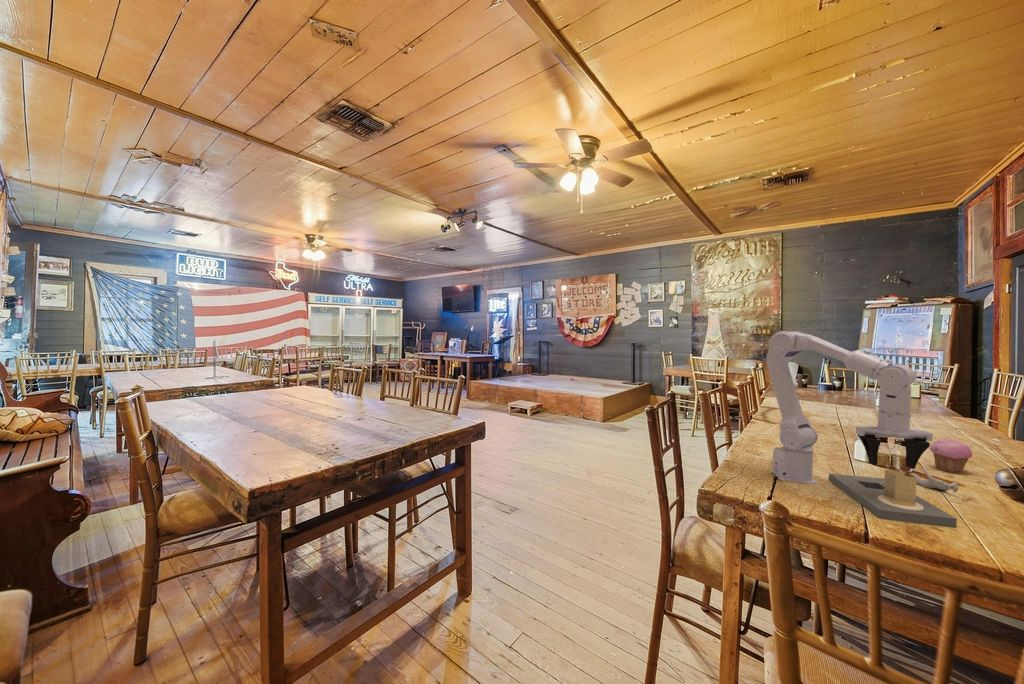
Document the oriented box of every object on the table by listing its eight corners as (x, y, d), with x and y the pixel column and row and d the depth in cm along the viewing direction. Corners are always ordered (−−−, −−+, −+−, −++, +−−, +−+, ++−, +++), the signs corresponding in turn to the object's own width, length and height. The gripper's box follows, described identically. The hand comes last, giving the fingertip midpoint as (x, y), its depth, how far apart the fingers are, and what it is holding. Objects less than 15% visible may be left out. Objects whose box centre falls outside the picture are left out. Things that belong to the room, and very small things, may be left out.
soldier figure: (913, 483, 117) (968, 485, 106) (910, 496, 115) (966, 500, 104) (895, 465, 116) (949, 465, 105) (892, 478, 114) (946, 480, 103)
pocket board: (879, 520, 91) (879, 508, 91) (828, 481, 114) (829, 472, 114) (956, 529, 87) (956, 517, 87) (887, 487, 110) (888, 478, 110)
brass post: (894, 504, 94) (895, 475, 93) (883, 497, 98) (885, 469, 97) (915, 506, 93) (916, 477, 92) (903, 499, 96) (904, 471, 96)
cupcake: (947, 465, 129) (949, 435, 128) (980, 475, 120) (981, 443, 120) (921, 465, 128) (923, 435, 128) (952, 475, 120) (953, 443, 119)
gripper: (867, 413, 96) (865, 467, 97) (943, 418, 92) (940, 475, 92) (852, 407, 103) (850, 458, 103) (922, 412, 98) (919, 465, 99)
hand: (891, 465), depth 98 cm, fingers open, 7 cm apart
